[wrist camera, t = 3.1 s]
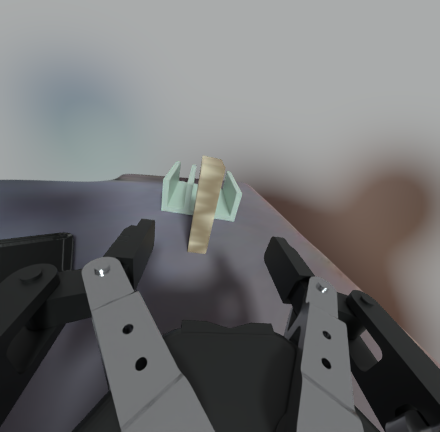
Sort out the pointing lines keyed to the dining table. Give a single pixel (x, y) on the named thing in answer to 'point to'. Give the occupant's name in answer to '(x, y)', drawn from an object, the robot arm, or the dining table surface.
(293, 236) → the dining table surface
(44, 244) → the phone
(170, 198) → the slotted rack
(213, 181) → the tan wooden block
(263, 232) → the dining table surface
